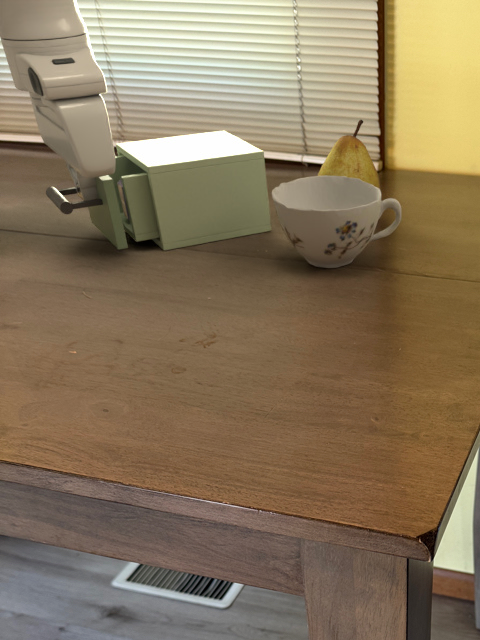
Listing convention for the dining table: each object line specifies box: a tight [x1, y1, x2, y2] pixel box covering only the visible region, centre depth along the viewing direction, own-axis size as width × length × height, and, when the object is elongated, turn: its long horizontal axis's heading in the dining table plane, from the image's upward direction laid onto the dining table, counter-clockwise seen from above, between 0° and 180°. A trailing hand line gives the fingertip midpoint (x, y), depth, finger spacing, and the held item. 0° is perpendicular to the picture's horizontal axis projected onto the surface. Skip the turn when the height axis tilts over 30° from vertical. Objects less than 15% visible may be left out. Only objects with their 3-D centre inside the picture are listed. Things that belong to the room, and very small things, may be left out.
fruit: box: [317, 119, 381, 190], centre depth 99 cm, size 9×9×12 cm
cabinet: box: [115, 130, 272, 252], centre depth 97 cm, size 15×13×10 cm
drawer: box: [45, 155, 160, 250], centre depth 94 cm, size 18×11×8 cm, turn 123°
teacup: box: [271, 175, 402, 269], centre depth 89 cm, size 15×12×8 cm
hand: (89, 200), depth 91 cm, fingers closed, pressing on drawer
